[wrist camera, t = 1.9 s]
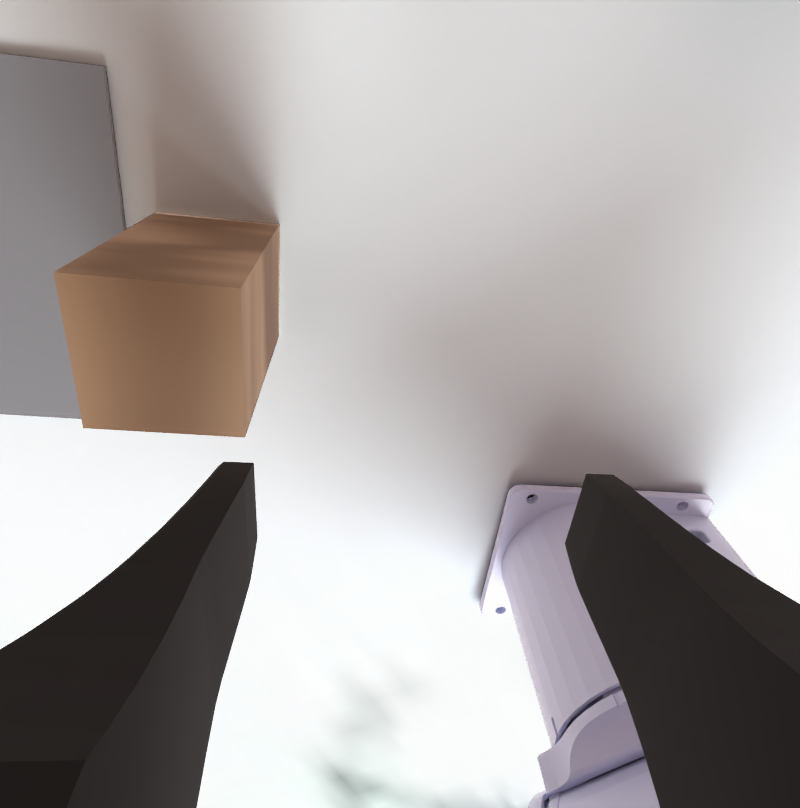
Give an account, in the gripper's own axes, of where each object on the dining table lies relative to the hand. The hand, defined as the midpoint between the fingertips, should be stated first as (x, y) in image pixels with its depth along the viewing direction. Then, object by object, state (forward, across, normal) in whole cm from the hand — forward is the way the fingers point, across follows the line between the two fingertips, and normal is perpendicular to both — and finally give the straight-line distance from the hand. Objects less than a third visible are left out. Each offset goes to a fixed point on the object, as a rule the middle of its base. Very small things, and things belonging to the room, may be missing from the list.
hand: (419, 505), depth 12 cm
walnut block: (+10, +6, -2) cm, 12 cm away
